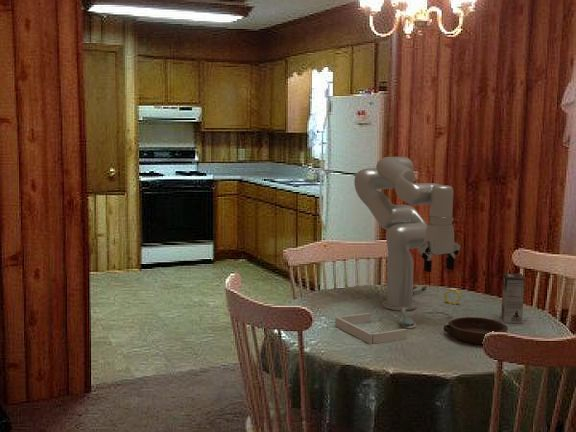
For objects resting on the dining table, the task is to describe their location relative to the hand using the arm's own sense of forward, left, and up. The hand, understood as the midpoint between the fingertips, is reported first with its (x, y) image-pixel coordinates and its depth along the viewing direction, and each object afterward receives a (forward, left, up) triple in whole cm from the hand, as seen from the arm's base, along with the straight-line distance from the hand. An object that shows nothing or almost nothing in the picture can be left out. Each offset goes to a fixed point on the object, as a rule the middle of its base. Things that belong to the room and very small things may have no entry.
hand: (438, 270), depth 226 cm
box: (+1, -28, -18) cm, 34 cm away
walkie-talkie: (-40, +18, -19) cm, 47 cm away
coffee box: (+9, +26, -18) cm, 33 cm away
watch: (-18, +22, -18) cm, 34 cm away
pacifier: (0, -13, -19) cm, 23 cm away
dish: (+21, 0, -19) cm, 28 cm away
